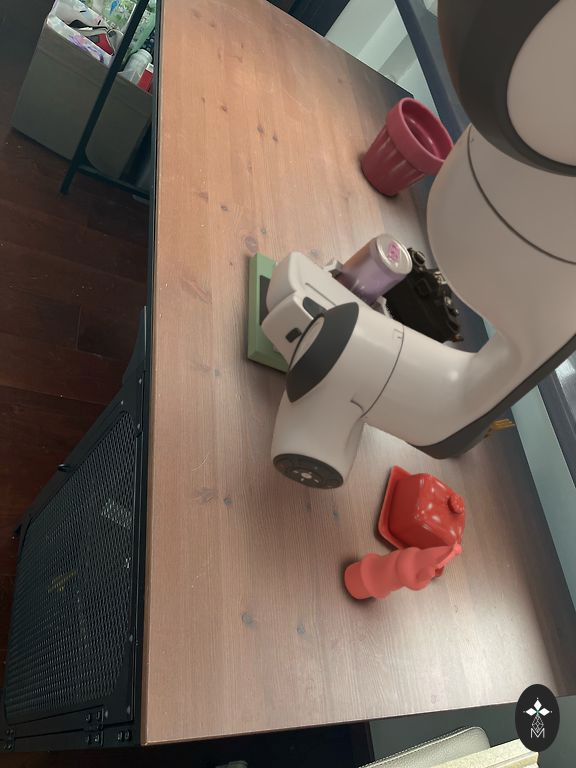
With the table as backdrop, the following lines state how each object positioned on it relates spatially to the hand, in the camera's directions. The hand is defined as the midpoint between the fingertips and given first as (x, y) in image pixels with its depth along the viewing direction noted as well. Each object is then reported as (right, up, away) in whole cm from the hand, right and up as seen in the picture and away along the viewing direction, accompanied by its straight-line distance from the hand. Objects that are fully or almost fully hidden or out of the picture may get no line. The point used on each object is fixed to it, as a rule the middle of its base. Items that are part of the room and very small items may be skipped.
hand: (356, 281), depth 77 cm
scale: (-7, -5, +7) cm, 11 cm away
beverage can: (-5, -4, +5) cm, 8 cm away
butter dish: (+7, -31, +4) cm, 32 cm away
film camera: (+11, -1, +25) cm, 27 cm away
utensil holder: (+15, -21, +16) cm, 31 cm away
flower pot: (+9, +26, +40) cm, 49 cm away
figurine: (-1, -36, -6) cm, 36 cm away
